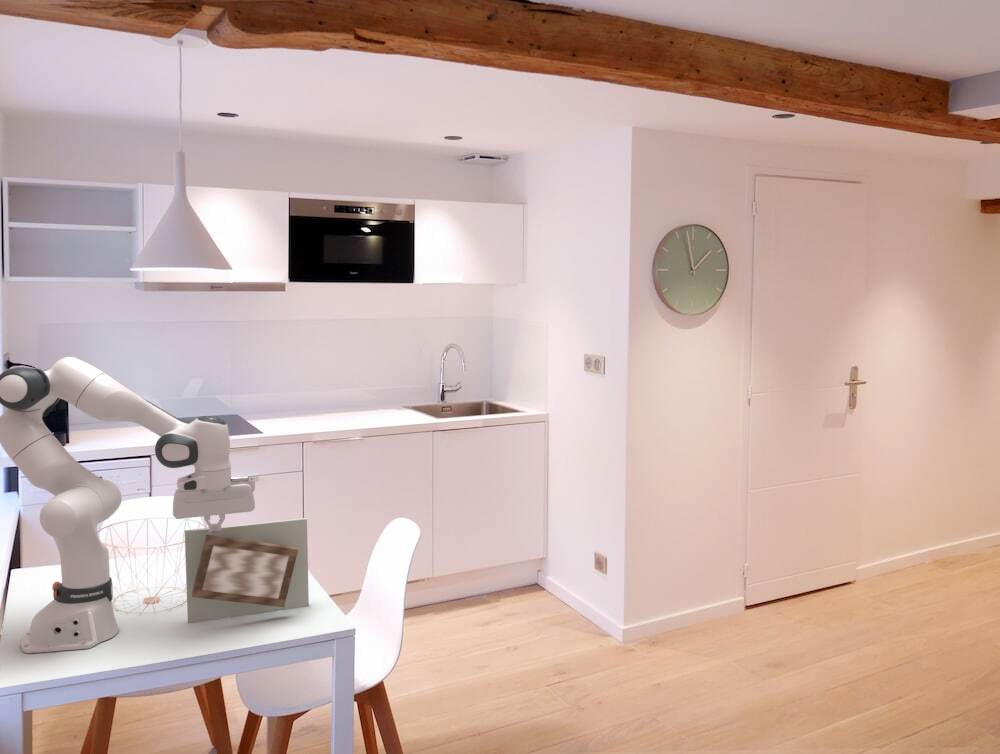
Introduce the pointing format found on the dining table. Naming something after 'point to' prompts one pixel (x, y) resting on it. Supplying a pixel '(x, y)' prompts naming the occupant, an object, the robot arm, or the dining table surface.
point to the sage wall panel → (267, 532)
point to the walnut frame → (244, 571)
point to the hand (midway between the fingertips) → (215, 531)
